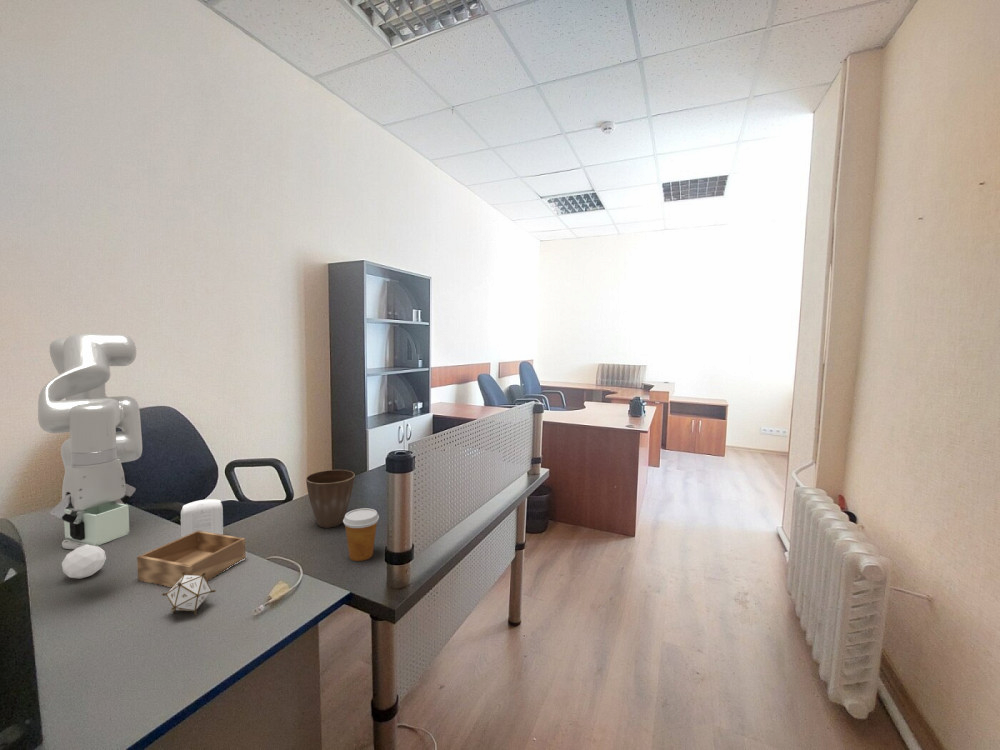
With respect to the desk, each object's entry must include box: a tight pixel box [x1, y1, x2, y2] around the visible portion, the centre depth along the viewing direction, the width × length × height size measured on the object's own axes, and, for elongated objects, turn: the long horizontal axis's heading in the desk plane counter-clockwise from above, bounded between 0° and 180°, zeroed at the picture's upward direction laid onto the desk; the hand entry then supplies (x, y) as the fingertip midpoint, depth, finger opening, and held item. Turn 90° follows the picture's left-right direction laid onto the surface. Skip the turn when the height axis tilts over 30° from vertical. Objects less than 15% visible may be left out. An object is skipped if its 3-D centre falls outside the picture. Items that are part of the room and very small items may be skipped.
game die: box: [161, 571, 217, 615], centre depth 91 cm, size 9×8×10 cm
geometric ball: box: [61, 544, 107, 580], centre depth 104 cm, size 8×8×8 cm
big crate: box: [136, 531, 246, 588], centre depth 108 cm, size 17×16×6 cm
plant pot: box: [305, 469, 356, 529], centre depth 137 cm, size 15×15×16 cm
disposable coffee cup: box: [342, 507, 380, 562], centre depth 116 cm, size 10×10×12 cm
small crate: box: [63, 502, 130, 547], centre depth 97 cm, size 10×7×7 cm, turn 75°
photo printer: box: [180, 498, 224, 538], centre depth 123 cm, size 10×4×12 cm, turn 123°
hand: (97, 531), depth 97 cm, fingers closed on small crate, 6 cm apart
